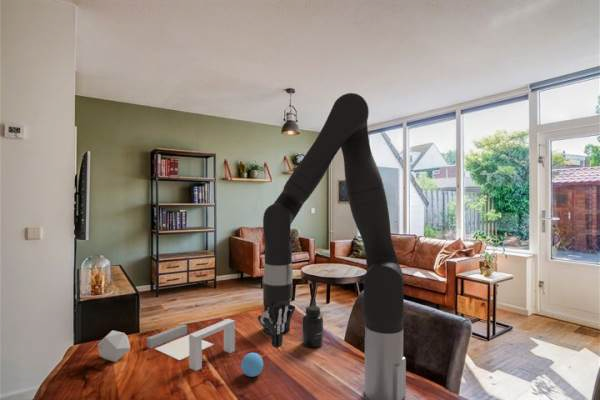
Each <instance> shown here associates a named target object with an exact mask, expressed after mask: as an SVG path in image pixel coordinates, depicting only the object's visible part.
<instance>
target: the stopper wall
mask: <svg viewBox="0 0 600 400" xmlns="http://www.w3.org/2000/svg"><path fill="white" fill-rule="evenodd" d="M187 335H188V324H180V325H178V326H175V327H173V328H169V329H167V330H164V331H162V332H159V333H157V334H154V335H151V336H148V337H146V346H147V348H149V349H153V348H157V347H159V346H162V345H164V344H167V343H169V342H172V341H174V340H177V339H179V338H182V337H184V336H187Z"/></svg>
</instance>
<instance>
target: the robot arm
mask: <svg viewBox="0 0 600 400" xmlns="http://www.w3.org/2000/svg"><path fill="white" fill-rule="evenodd" d="M334 101H335V102H334V103H333V105H332V107H331V110H330V112H329V114H328V116H327V118H326V120H325V121H324V124H323V126H322V128H321V130H320V132H319V133H318V135H317V137H316V138H315V140H314V142H313V144H312V145H311V147H310V148H309V149H308V151H307V152H306V154H305V155H304V156H303V158H302V159H301V161H300V162H299V163H298V164H297V166H296V167H295V169H294V171H293V172H292V174H291V175H290V176H289V178H288V179H287V180H286V182H285V184H284V186H283V190H281V193H280V194H279V195H278V197H277V199H275V201H274V202H273V203H272V204H270V205H269V206H268V207H266V209H265V210H264V211H263V212H264V213H263V217H262V227H263V239H264V243H265V244H264V266H263V277H262V279H263V282H262V283H263V284H262V285H263V287H262V288H263V289H262V292H263V295H262V297H263V298H264V299H265V301H266V305H265V312H263V314H262V315H259V316H258V317H257V320H258V322H259V324H260V325H261V326H262V328H263V330H264V329H265V331H266V332H269V333H271V334H272V335H271V340H270V341H271V342H270V343H271V346H272V347H273V348H276V349H278V348H279V349H280V347H282V345H283V340H284V339H283V338H284V337H283V336H284V335H283V331H284V328H285V327H286V328H287V327H288V325H289V323H290V324H291V320H292V317H293V315H294V312H295V310H296V306H295V305H293V304H291V299H292V298H293V264H292V263H293V256H292V255H293V254H292V253H293V248H292V243H291V225H292V223H293V222H294V220H295V218H296V217H297V216H298V214H299V212H300V211H301V209H302V207H303V206H304V204H305V203H306V202H307V200H308V199H309V198H310V197H311V195H312V194H313V193H314V191H315V190H316V188H317V187H318V185H319V184H320V183H321V181H322V179H323V177H324V176H325V174H326V172H327V171H328V168H329V167H330V165H331V163H332V162H333V160H334V158H335V156H336V155H337V153H338V152H339V150H341V152H342V157H343V163H344V164H343V166H344V167H343V168H344V179H345V186H346V193H347V199H348V203H349V208H350V211H351V215H352V218H353V221H354V223H355V226H356V228H357V230H358V233H359V235H360V238H361V240H362V243H363V248H364V253H365V263H366V264H365V265H366V273H365V276H364V277H363V278H364V279H363V317H364V394H365V397H366V398H367V399H368V400H403V399H404V398H405V397H406V394H407V393H406V392H407V391H406V390H407V389H406V385H407V383H406V382H407V379H406V378H407V377H406V375H407V368H406V367H407V359H406V356H404V318H405V317H404V305H405V304H404V303H405V302H404V298H405V296H404V295H405V294H404V290H405V289H404V288H405V286H404V285H405V283H404V281H405V280H404V278H405V277H404V273H403V270H402V267H401V265H400V262H399V259H398V257H397V253H396V250H395V246H394V243H393V239H392V232H391V220H390V213H389V207H388V206H389V205H388V199H387V195H386V190H385V186H384V183H383V179H382V176H381V172H380V171H379V170H380V169H379V168H378V166H377V163H376V162H375V159H374V156H373V152H372V149H371V145H370V138H369V129H368V120H369V114H370V112H369V111H370V110H369V106H368V105H369V104H368V103H367V100H366V99H365V98H364V97H363V96H362V95H360V94H358V93H354V92H348V93H345V94H342V95H341V96H339V97H338V98H337V99H336V100H334ZM263 298H262V299H263ZM286 318H287V319H286Z"/></svg>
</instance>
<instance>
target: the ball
mask: <svg viewBox="0 0 600 400" xmlns="http://www.w3.org/2000/svg"><path fill="white" fill-rule="evenodd" d="M240 366H241V368H240V369H241V370H242V372H243V374H244V375H245V376H247V377H251V378H253V377H256V376H258V375H259V374H260V373H262V371H263V369H264V360H263V358H262V356H261V355H260V354H258V353H256V352H250V353H247V354H246V355H244V357H243V358H242V360H241V363H240Z"/></svg>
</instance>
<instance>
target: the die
mask: <svg viewBox="0 0 600 400" xmlns="http://www.w3.org/2000/svg"><path fill="white" fill-rule="evenodd" d="M97 348H98V353H99V357H101V358H102V359H103V360H107V361H110V362H114V363H117V362H118V361H119V360H120V359H121V358H122V357H123V356H124V355H125V354H126V353H127V352H128V351H129V350H130V349H131V344H130V341H129V337H128V336H127V334H126V333H125V332H123V331H122V332H121V331H117V330H111V331H110V332H109V333H107V335H105V336H104V337H103V338H102V339H101V340H100V341H99V342H98V343H97Z"/></svg>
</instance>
